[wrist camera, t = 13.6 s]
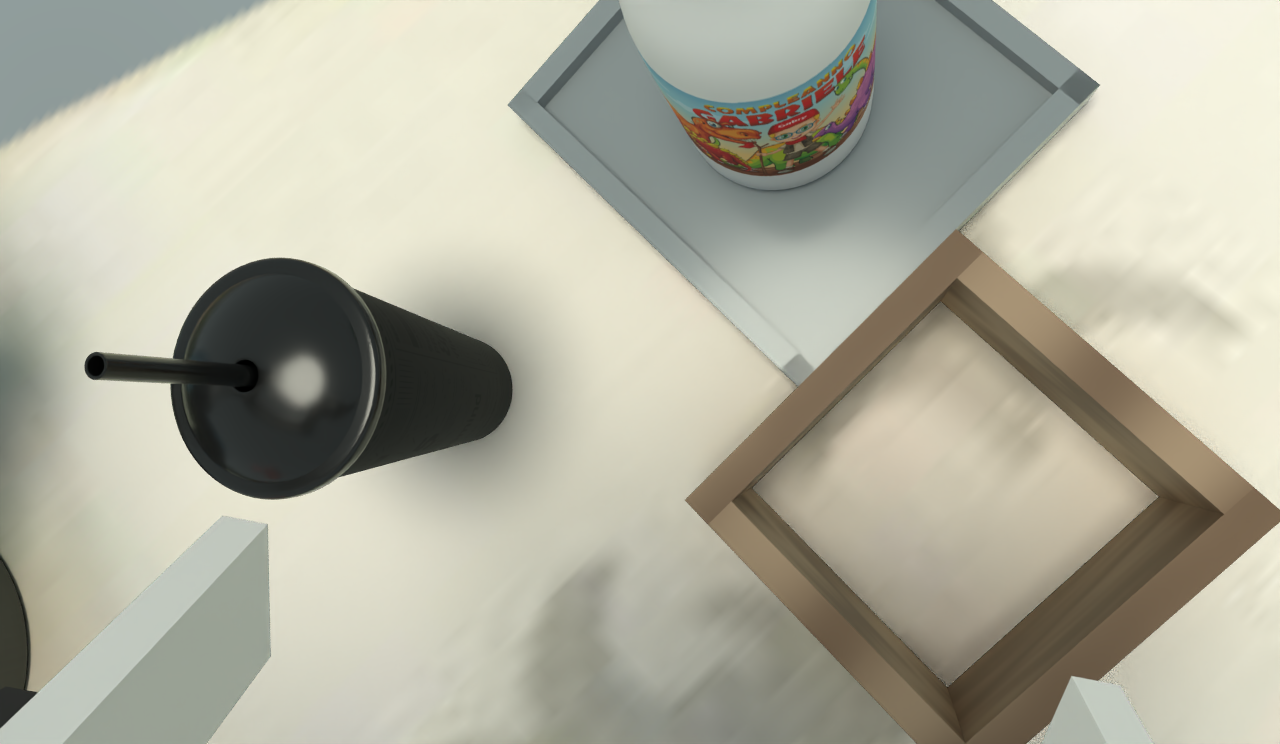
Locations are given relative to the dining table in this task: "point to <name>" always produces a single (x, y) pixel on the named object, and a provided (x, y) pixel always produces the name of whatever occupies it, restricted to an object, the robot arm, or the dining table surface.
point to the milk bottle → (762, 80)
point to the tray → (836, 202)
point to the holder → (1085, 603)
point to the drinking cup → (314, 380)
